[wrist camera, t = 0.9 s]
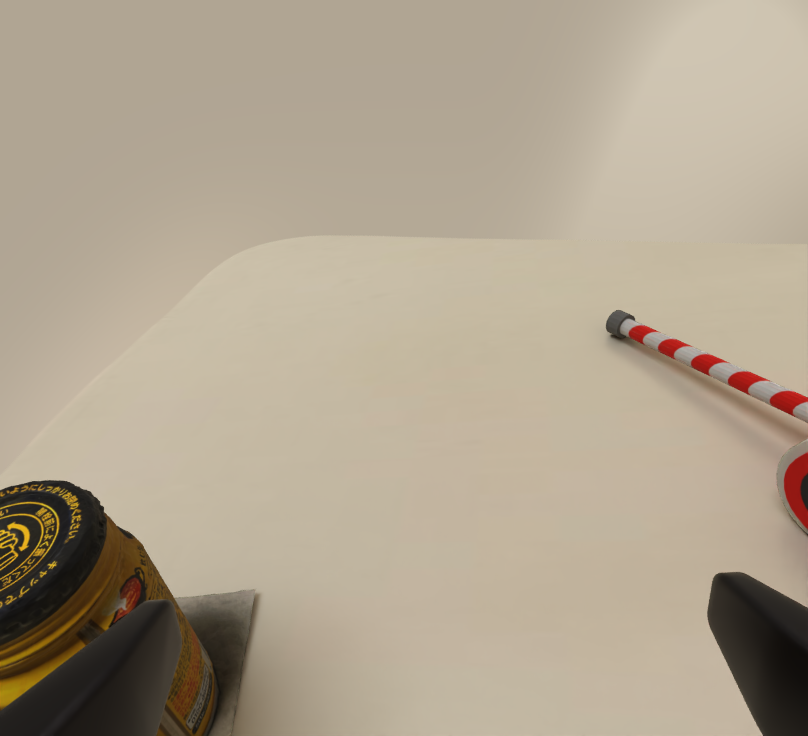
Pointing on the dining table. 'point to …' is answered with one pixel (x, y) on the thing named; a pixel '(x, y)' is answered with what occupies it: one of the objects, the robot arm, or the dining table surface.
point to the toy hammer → (802, 464)
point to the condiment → (105, 604)
